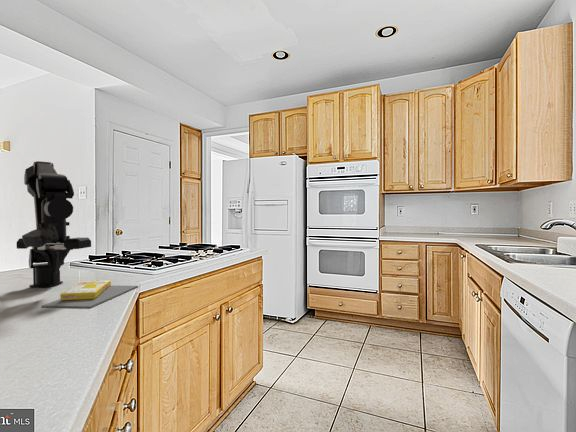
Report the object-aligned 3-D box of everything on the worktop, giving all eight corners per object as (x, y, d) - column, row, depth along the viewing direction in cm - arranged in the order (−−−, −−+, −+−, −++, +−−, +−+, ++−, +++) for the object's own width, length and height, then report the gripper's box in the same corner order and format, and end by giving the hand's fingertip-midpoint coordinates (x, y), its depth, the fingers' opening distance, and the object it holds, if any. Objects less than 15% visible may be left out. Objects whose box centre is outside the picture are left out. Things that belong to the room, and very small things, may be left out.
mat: (41, 307, 82) (41, 305, 82) (98, 286, 104) (98, 285, 104) (90, 308, 81) (90, 306, 81) (138, 287, 103) (138, 285, 103)
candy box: (59, 301, 85) (95, 299, 87) (59, 293, 85) (95, 291, 87) (81, 287, 101) (111, 285, 103) (81, 280, 101) (111, 278, 103)
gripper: (-4, 219, 87) (-2, 278, 87) (62, 219, 85) (63, 279, 85) (33, 218, 98) (34, 270, 98) (92, 218, 96) (92, 271, 97)
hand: (55, 272), depth 94 cm, fingers closed
